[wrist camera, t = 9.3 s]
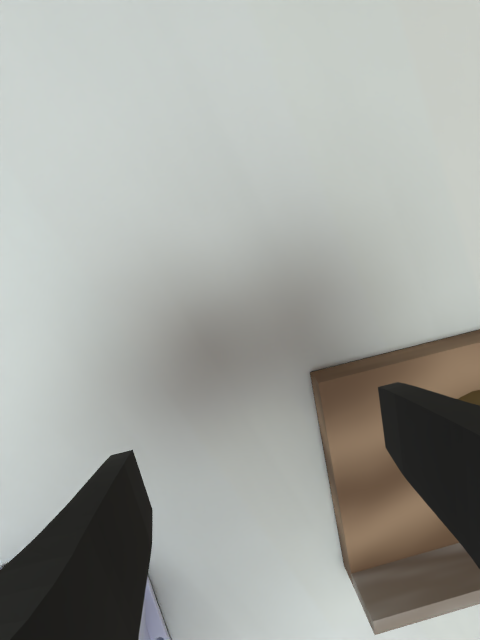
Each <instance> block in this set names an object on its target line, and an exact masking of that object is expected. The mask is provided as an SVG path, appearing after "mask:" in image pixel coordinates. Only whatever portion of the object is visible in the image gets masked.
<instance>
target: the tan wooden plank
mask: <svg viewBox="0 0 480 640" xmlns="http://www.w3.org/2000/svg"><path fill="white" fill-rule="evenodd" d="M310 375H311V381H312V387H313V392H314V398H315V403H316V409H317V415H318V420H319V426H320V432H321V437H322V443H323V449H324V454H325V460H326V466H327V471H328V477H329V483H330V488H331V494H332V500H333V505H334V511H335V516H336V522H337V528H338V533H339V539H340V545H341V550H342V556H343V562H344V566H345V569H346V571H347V573H348V575H349V578H350V580H351V582H352V584H353V587H354V589H355V591H356V593H357V596H358V598H359V600H360V602H361V605H362V607H363V609H364V611H365V614H366V616H367V618H368V620H369V623H370V625H371V627H372V629H373V632H374V634H375V635H376V634H380V633H383V632H387V631H390V630H393V629H397V628H400V627H403V626H407V625H410V624H413V623H417V622H420V621H423V620H427V619H430V618H434V617H437V616H440V615H444V614H447V613H450V612H454V611H457V610H460V609H464V608H467V607H470V606H474V605H477V604H480V569H479V568H478V566H477V565H476V564H475V562H474V561H473V559H472V558H471V557H470V555H469V554H468V553H467V552H466V550H465V549H464V548H463V546H462V545H461V544H460V543H459V541H458V540H457V539H456V538H455V537H454V535H453V534H452V533H451V532H450V531H449V530H448V528H447V527H446V526H445V525H444V524H443V523H442V521H441V520H440V519H439V518H438V517H437V515H436V514H435V513H434V512H433V511H432V510H431V508H430V507H429V506H428V505H427V504H426V502H425V501H424V500H423V499H422V498H421V497H420V495H419V494H418V493H417V492H416V491H415V489H414V488H413V487H412V486H411V485H410V483H409V482H408V481H407V480H406V478H405V477H404V476H403V474H402V473H401V471H400V470H399V468H398V467H397V465H396V464H395V462H394V461H393V459H392V457H391V456H390V454H389V452H388V451H387V449H386V447H385V440H384V432H383V424H382V416H381V408H380V400H379V393H378V387H380V386H384V385H388V384H392V383H396V382H400V383H405V384H409V385H413V386H416V387H419V388H423V389H426V390H429V391H432V392H436V393H439V394H442V395H445V396H449V397H452V398H455V399H458V398H460V397H462V396H464V395H466V394H468V393H470V392H472V391H477V390H480V330H477V331H473V332H469V333H465V334H461V335H457V336H453V337H449V338H445V339H441V340H437V341H433V342H429V343H425V344H421V345H417V346H413V347H409V348H405V349H401V350H397V351H393V352H389V353H385V354H381V355H377V356H373V357H369V358H365V359H361V360H357V361H353V362H349V363H345V364H341V365H337V366H333V367H329V368H325V369H321V370H317V371H313V372H310Z"/></svg>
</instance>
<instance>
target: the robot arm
mask: <svg viewBox="0 0 480 640" xmlns="http://www.w3.org/2000/svg"><path fill="white" fill-rule="evenodd" d="M378 393H379V400H380V408H381V416H382V424H383V432H384V440H385V447H386V449H387V451H388V452H389V454H390V456H391V457H392V459H393V461H394V462H395V464H396V465H397V467H398V468H399V470H400V471H401V473H402V474H403V476H404V477H405V478H406V480H407V481H408V482H409V483H410V485H411V486H412V487H413V488H414V489H415V491H416V492H417V493H418V494H419V495H420V497H421V498H422V499H423V500H424V501H425V502H426V504H427V505H428V506H429V507H430V508H431V510H432V511H433V512H434V513H435V514H436V515H437V517H438V518H439V519H440V520H441V521H442V523H443V524H444V525H445V526H446V527H447V528H448V530H449V531H450V532H451V533H452V534H453V535H454V537H455V538H456V539H457V540H458V541H459V543H460V544H461V545H462V546H463V548H464V549H465V550H466V552H467V553H468V554H469V555H470V557H471V558H472V559H473V561H474V562H475V564H476V565H477V566H478V568H479V569H480V406H479V405H476V404H472V403H469V402H465V401H462V400H458V399H455V398H452V397H449V396H445V395H442V394H439V393H436V392H432V391H429V390H426V389H423V388H419V387H416V386H413V385H409V384H405V383H400V382H396V383H392V384H388V385H384V386H380V387H378ZM151 547H152V507H151V504H150V501H149V498H148V495H147V492H146V489H145V486H144V483H143V480H142V477H141V474H140V471H139V468H138V465H137V462H136V459H135V456H134V453H133V450H131V451H127V452H123V453H119V454H115V455H111V456H110V457H109V458H108V459H107V460H106V461H105V462H104V463H103V464H102V466H101V467H100V468H99V469H98V470H97V471H96V472H95V474H94V475H93V476H92V477H91V478H90V479H89V480H88V482H87V483H86V484H85V485H84V486H83V487H82V488H81V490H80V491H79V492H78V493H77V494H76V495H75V496H74V498H73V499H72V500H71V501H70V502H69V503H68V504H67V505H66V507H65V508H64V509H63V510H62V511H61V512H60V513H59V514H58V515H57V516H56V517H55V518H54V519H53V520H52V521H51V522H50V523H49V524H48V525H47V526H46V527H45V529H44V530H43V531H42V532H41V533H40V534H39V535H38V536H37V537H36V538H35V539H34V540H33V541H32V542H31V543H29V544H28V545H27V546H26V547H25V548H24V549H23V550H22V551H21V552H20V553H19V554H18V555H16V556H15V557H14V558H13V559H12V560H11V561H10V562H9V563H8V564H6V565H5V566H4V567H3V568H0V640H170V637H169V634H168V631H167V629H166V626H165V623H164V620H163V617H162V614H161V612H160V609H159V606H158V603H157V600H156V597H155V594H154V592H153V589H152V586H151V583H150V580H149V577H148V569H149V562H150V555H151Z"/></svg>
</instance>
